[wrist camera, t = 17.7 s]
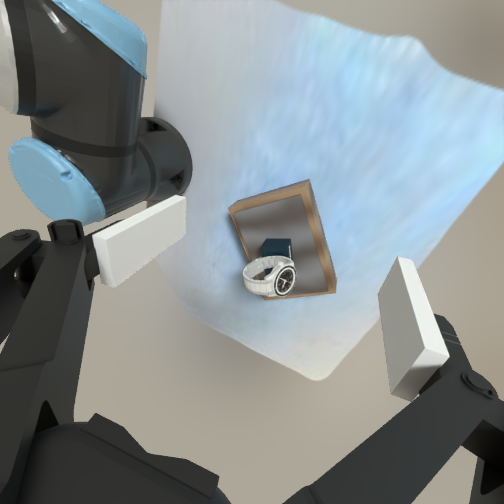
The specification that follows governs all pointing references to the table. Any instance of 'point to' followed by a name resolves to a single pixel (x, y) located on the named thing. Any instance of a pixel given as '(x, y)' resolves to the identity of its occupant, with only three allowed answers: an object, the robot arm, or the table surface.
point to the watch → (272, 269)
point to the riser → (288, 235)
